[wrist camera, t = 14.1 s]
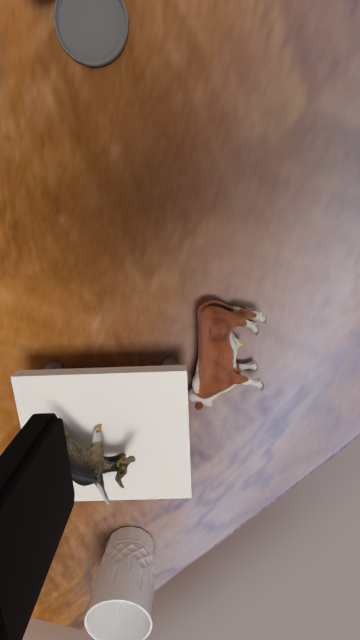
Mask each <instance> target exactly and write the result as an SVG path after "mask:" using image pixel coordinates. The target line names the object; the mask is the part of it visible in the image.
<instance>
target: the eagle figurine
mask: <svg viewBox="0 0 360 640" xmlns="http://www.w3.org/2000/svg"><path fill="white" fill-rule="evenodd" d="M101 426H102V424H99V425H98V426H97V428H96V429H95V431H94V433H93V436H92V443H91V447H89V448H84V447H81V446H80V445H79V444H78V443H76V441H75V440H74V439H72V438H71V437H70V436H69V434H68V433H67V431H66V429H65V428H64V430H65V436H66V442H67V449H68V455H69V461H70V467H71V473H72V480H73V481H74V482H75V483H77V484H79V485H81V486H87V485H91V484H95V485H96V487H97V488H98V489H99V491H100V493H101V495H102V496H103V498H104V500H105V502H106V503H107V504H108V505H109V504H110V501H109V499H108V496H107V493H106V491H105V489H104V481H103V473H108V472H117V474H116V477H115V480H116V481H117V483H118V484H119V486H120V487H121V488H124V486H123V484H122V482H121V478H123V476H125V475H126V473H127V467H128V465H129V464H130V463H131V462H135V457H134V456H129V457H128V458H125V457H126V454H124V453H120V454H117V455H116V456H111V457H110V456H107V457H106V456H104V447H103V443H102V438H101Z"/></svg>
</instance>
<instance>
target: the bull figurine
mask: <svg viewBox="0 0 360 640" xmlns="http://www.w3.org/2000/svg"><path fill="white" fill-rule="evenodd" d="M212 304H220V305H222V306H224V307H226V308H228V309H229V310H230V311H232V312H230V311H228V310H226V309H224V308H221V307H219V306H216V305H212ZM247 319H256V320H258V321H260V322H262V323H265V324H266V321H267V319H266V316H264V315H262V312H260V311H259V312H256V311H250V310H247V309H245V308H240V307H235V306H229V305H227V304H225V303H224V302H222V301H219V300H209V301H206V302H204V303H203V304H201V305H200V307H199V308H198V311H197V320H198V361H197V366H196V373H195V376H194V378H193V381H192V387H193V388H192V389H191V390H190V391H189V394H188V395H189V399H190V400H191V401H192V402H194V403H195V404H196V405H195V408H196V409H197V410H200V409H202V407H203V404H204V405H206V407H212V404H213V400H214V399H215V398H217V397H218V396H219V394H221V393H225V392H228V391H230V390H231V389H232V388H233V387H235V386H236V385H237V384H243V385H248V384H251V385H253V386H256V387H258V388H259V389H260V390H263V389H264V384H263V383H262V381H261V379H260V378H257V379H251V378H249V377H247V376H243V375H240V374H241V371H243V370H244V369H253V370H255V371H257V370H258V366H257V364H256V363H255V361H254V360H252V361H251V362H249V363H247V364H240V363H239V364H237V363H236V357H237V350H238V348H239V347H242V346H243V345H244V343H243V342H241V341H240V340H238V339H237V338H236V337H235V335H234V334H233V332H232V330H233V328H234V327H235V326H244V327H247V328H248V329H250V330H251V331H252V332H253V333H254V334H255V335H258V332H259V330H258V327H257V326H256V323H255V322H251V321H248V320H247Z"/></svg>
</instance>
